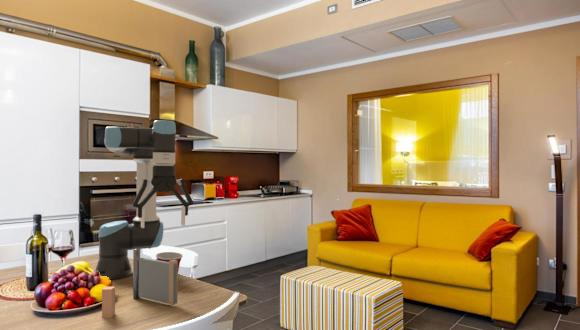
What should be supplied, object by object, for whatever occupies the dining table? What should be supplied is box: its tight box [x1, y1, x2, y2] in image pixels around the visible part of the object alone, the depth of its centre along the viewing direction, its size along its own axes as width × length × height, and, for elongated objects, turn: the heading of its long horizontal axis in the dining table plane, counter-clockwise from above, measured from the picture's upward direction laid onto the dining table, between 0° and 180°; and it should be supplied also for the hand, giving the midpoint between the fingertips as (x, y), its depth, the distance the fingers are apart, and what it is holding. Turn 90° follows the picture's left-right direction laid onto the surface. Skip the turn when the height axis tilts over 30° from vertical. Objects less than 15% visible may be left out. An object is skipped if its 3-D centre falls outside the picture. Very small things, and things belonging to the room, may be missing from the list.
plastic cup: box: [155, 251, 184, 276], centre depth 165 cm, size 11×11×12 cm
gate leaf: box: [139, 257, 178, 306], centre depth 142 cm, size 17×2×15 cm, turn 62°
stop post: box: [101, 286, 116, 318], centre depth 131 cm, size 3×3×9 cm
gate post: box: [132, 249, 141, 300], centre depth 147 cm, size 2×2×18 cm
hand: (163, 226), depth 139 cm, fingers open, 13 cm apart
